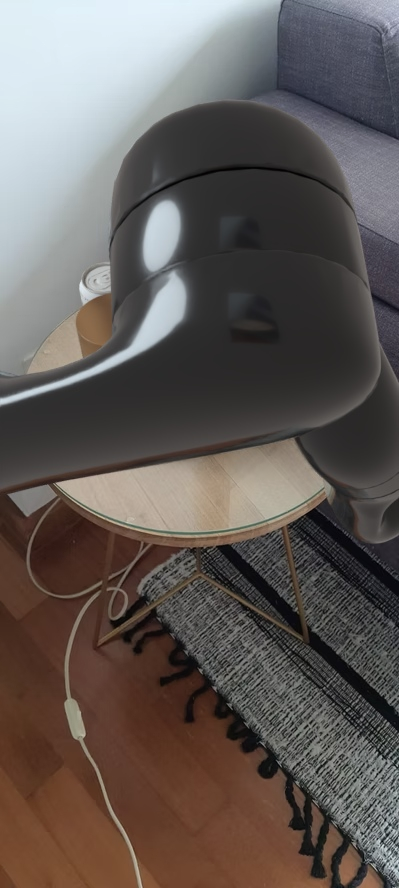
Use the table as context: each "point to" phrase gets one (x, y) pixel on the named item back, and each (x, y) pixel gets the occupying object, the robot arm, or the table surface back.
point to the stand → (94, 324)
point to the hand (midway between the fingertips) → (217, 240)
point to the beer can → (95, 282)
